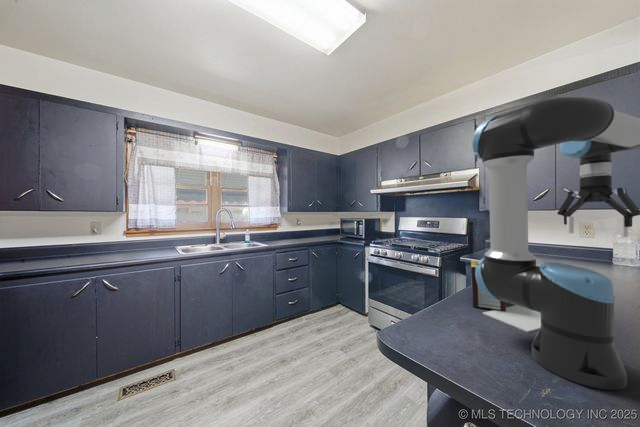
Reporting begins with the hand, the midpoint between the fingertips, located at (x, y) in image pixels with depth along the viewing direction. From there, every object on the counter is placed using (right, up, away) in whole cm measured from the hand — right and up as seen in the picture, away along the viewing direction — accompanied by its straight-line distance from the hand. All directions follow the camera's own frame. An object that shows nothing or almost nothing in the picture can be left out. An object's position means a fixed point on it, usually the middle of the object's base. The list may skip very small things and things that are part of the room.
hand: (595, 235), depth 85 cm
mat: (-29, -28, -4) cm, 41 cm away
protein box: (-33, -28, +9) cm, 44 cm away
